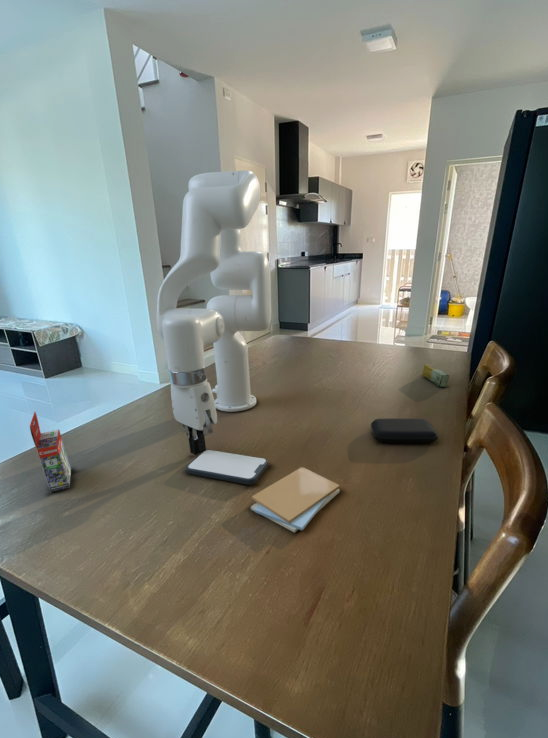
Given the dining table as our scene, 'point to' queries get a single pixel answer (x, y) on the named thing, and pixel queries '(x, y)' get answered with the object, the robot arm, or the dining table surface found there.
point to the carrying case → (403, 430)
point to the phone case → (228, 466)
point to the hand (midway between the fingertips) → (198, 451)
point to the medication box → (435, 375)
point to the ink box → (51, 456)
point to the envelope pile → (295, 498)
